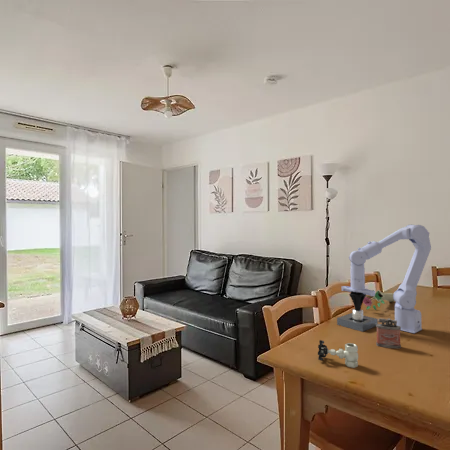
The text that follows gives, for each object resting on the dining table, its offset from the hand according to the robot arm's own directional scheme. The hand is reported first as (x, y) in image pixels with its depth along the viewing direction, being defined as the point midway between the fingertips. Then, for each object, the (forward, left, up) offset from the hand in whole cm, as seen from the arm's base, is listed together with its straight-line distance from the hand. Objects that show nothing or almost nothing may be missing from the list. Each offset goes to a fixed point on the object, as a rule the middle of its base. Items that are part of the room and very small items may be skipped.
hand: (357, 309), depth 141 cm
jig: (+1, -1, -7) cm, 7 cm away
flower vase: (+9, -36, -8) cm, 38 cm away
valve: (-16, +38, -8) cm, 42 cm away
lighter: (-19, +12, -7) cm, 24 cm away
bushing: (0, 0, -7) cm, 7 cm away
